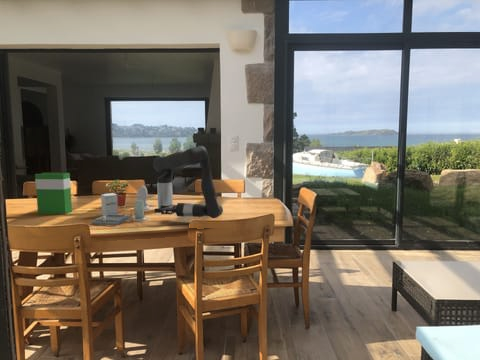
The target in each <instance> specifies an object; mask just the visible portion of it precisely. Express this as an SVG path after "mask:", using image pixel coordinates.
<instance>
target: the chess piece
mask: <svg viewBox="0 0 480 360" xmlns="http://www.w3.org/2000/svg"><path fill="white" fill-rule="evenodd" d="M138 188H139V189H138V190H137V192H136V193H134V194H135V195H134V196H135V197H136V198H138V199H137V200H144V211H149V210H150V209H151V208H150V206H149V205H148V202H147V199H148V189H147V187H146V186H145V185H141V186H140V187H138ZM133 210H134V211H135V206H134V207H133Z"/></svg>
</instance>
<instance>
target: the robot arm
mask: <svg viewBox="0 0 480 360" xmlns="http://www.w3.org/2000/svg"><path fill="white" fill-rule="evenodd" d="M152 164H153V165H152V166H153V168H154V170H155V171H156V172H157V173H161V172H164V173H163V174H162V175H161V176H158V177H157V179H156V183H157V184H156V186H157V188H156V189H157V208H154V213H156V214H157V213H158V214H161V215H170V216H171V215H173V214H175V215H176V216H177V218H179V217H182V218H193V217H197V218H203V217H210V218H211V219H217V218H219V217H220V216H221V215H222V214H223V213H224V212H223V211H224V208H223V207H222V205H220V204H218V200H217V199H218V194H217V191H216V187H215V186H214V185H215V184H214V181H213V177H212V170H211V165H210V159H209V154H208V150H207V149H206V147H205V146H203V145H198V146H194V147H190V148H188V149H186V150H184V151H176V152H173V153H170V154H167V155H165V156H156V158H154V160H153V163H152ZM199 164H201V167H202V176H201V180H200V181H201V182H200V188H201V189H200V190H201V192H202V195H203V200H204V203H205V204H203V203H192V202H191V203H190V202H178V203H177V204H174V203H173V200H174V199H173V176H174V175H173V171H174V169H177V170H178V169H183V168H184V167H185V166H196V165H199Z"/></svg>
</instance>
